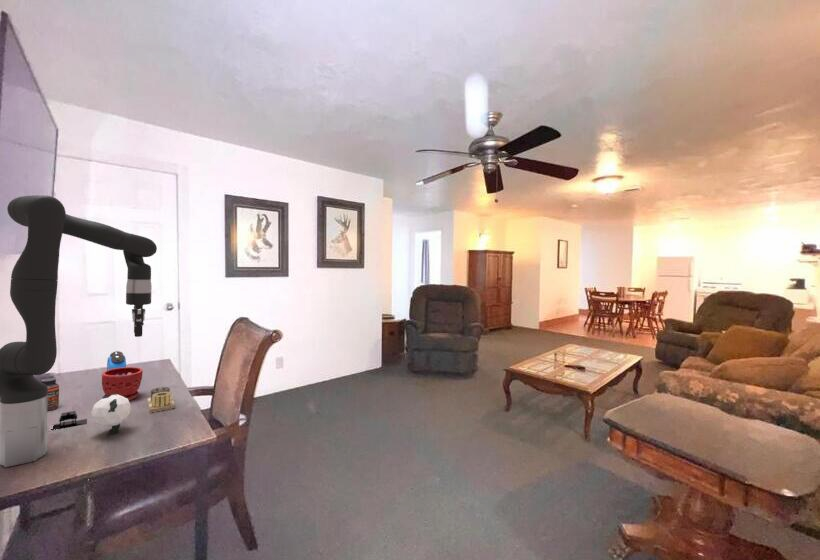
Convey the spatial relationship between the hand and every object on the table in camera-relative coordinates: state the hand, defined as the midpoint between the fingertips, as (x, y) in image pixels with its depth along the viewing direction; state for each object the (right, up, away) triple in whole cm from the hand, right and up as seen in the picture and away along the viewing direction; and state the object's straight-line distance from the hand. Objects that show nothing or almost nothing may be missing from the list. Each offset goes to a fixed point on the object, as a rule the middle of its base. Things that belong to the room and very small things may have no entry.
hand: (137, 334), depth 133 cm
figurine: (+2, -31, -15) cm, 34 cm away
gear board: (+2, -30, +10) cm, 31 cm away
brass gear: (+4, -29, +7) cm, 30 cm away
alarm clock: (-34, -28, +31) cm, 54 cm away
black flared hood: (-17, -30, -10) cm, 36 cm away
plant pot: (-18, -29, +14) cm, 37 cm away
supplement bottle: (-36, -29, +2) cm, 46 cm away
